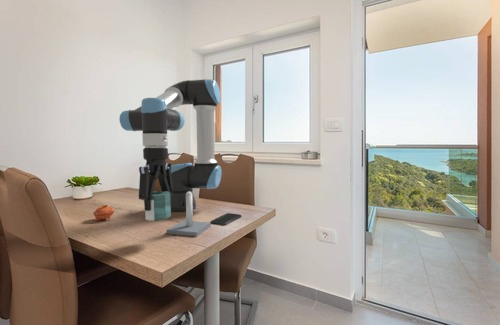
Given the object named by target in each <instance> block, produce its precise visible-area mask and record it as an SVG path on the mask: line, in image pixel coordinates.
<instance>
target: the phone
mask: <svg viewBox="0 0 500 325" xmlns="http://www.w3.org/2000/svg"><path fill="white" fill-rule="evenodd" d="M241 218H242V214H238V213H232V212H228V213H224V214H222V215H220V216H218V217H216V218H213V219H211V220H210V221H209V222H211V225H216V226H227V225H229V224H231V223H233V222H235V221H237V220H238V219H241Z"/></svg>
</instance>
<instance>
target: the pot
mask: <svg viewBox="0 0 500 325" xmlns="http://www.w3.org/2000/svg"><path fill="white" fill-rule="evenodd" d="M114 213H115V209H114V208H113V207H111V206H109V205H108V204H107V205H100V206H98V208H96V210H94V212H93V216H94V217H95V220H96V221H97V222H98V221H99V219H101V220H105V219H107V220H108V221H111V217H112V216H113V214H114Z"/></svg>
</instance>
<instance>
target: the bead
mask: <svg viewBox="0 0 500 325" xmlns="http://www.w3.org/2000/svg"><path fill="white" fill-rule="evenodd" d="M148 196H149V195H148ZM152 200H154V219H155V220H154V221H153V222H157V221H158V222H159V221H164V220H167V219H169V218H171V217H172V211H171V204H170V192H168V191H162V190H155V191H153V196H152ZM144 219H146V216H145V215H144ZM149 221H151V220H149ZM151 222H152V221H151Z"/></svg>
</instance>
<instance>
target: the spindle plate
mask: <svg viewBox="0 0 500 325" xmlns="http://www.w3.org/2000/svg"><path fill="white" fill-rule="evenodd" d="M193 211H194V209H193V205H192V193H191V192H187V193H186V211H185V213H186V214H185V217H186V218H185V220H184V219H183V220H181V221H180V222H178V223H176V224H175V225H172V226H171V227H169V228H167V229H166V234H167V235H174V236H175V235H177V236H188V237H199V235H201V234H203V232H205V231H206V230H209V228H211V225H212V224H211V222H210V221H199V220H198V221H197V220H196V221H195V220H194V217H193Z"/></svg>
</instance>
